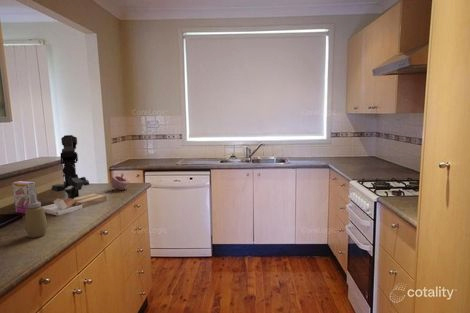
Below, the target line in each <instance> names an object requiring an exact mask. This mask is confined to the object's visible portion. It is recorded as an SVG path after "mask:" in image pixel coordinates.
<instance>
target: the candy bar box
mask: <svg viewBox="0 0 470 313" xmlns="http://www.w3.org/2000/svg"><path fill="white" fill-rule="evenodd" d="M11 184H12V186H11V187H12V193H13V194H12V195H13V202H14V212H15V213H17V214H24V215H25V211H26V209H27V208H28V203H30V202H31V196H32V194H35V196H36V199H37V200H38V196H37V195H38V194H37V186H36V185H37V184H36V182H33V181H25V180H19V181H14V182H12V183H11Z"/></svg>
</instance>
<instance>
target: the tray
mask: <svg viewBox="0 0 470 313" xmlns="http://www.w3.org/2000/svg"><path fill="white" fill-rule="evenodd" d="M42 207H43V208H44V212H45V214H48V215H52V216H53V215H54V216H57V217H58V216H62V215H65V214H69V213H72V212H75V211H79V210H82V209H83V208H82V205H79V206H73V205H71V206H70V207H68V208H65V209H64V210H62V209H58V208H57V206H56V205H55V203H53V204H49V205H48V204H47V205H44V206H42Z"/></svg>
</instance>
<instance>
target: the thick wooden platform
mask: <svg viewBox="0 0 470 313" xmlns="http://www.w3.org/2000/svg"><path fill="white" fill-rule="evenodd" d="M74 201H75V203H74V204H72V205H73V206H79V205H82V209H84V208H87V207H90V206H96V205H98V204H101V203H105V202H107V195H103V194H96V193H87V194H84V195H79V197H75V198H74Z"/></svg>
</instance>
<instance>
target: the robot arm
mask: <svg viewBox="0 0 470 313" xmlns="http://www.w3.org/2000/svg"><path fill="white" fill-rule="evenodd" d="M60 140H61V141H60V142H61V145H62V146H63V148H62V149H61V152H60V164H61V165H63V168H62V173H63V175H62V177H63V178H64V181H63V184H61V183H59V184H53V185H52V186H51V191H52V192H63V191H64V192H65V193H66V195H67V198H72V199H74V198H75V197H79V196H80V193H79V191H80V190H82V187H83V186H84V187H86V186H88V185H90V181H89V179H86V177H85V176H81V177H79V176H78V175H79V174H78V173H77V172H76V171H77V168H76V164H77V163H78V161H79V157H78V155H79V154H78V152H77V151H76V150H77V145H78V137H76V136H74V135H72V134H67V135H66V134H65V135H63V136H62V137H61V138H60Z"/></svg>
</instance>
